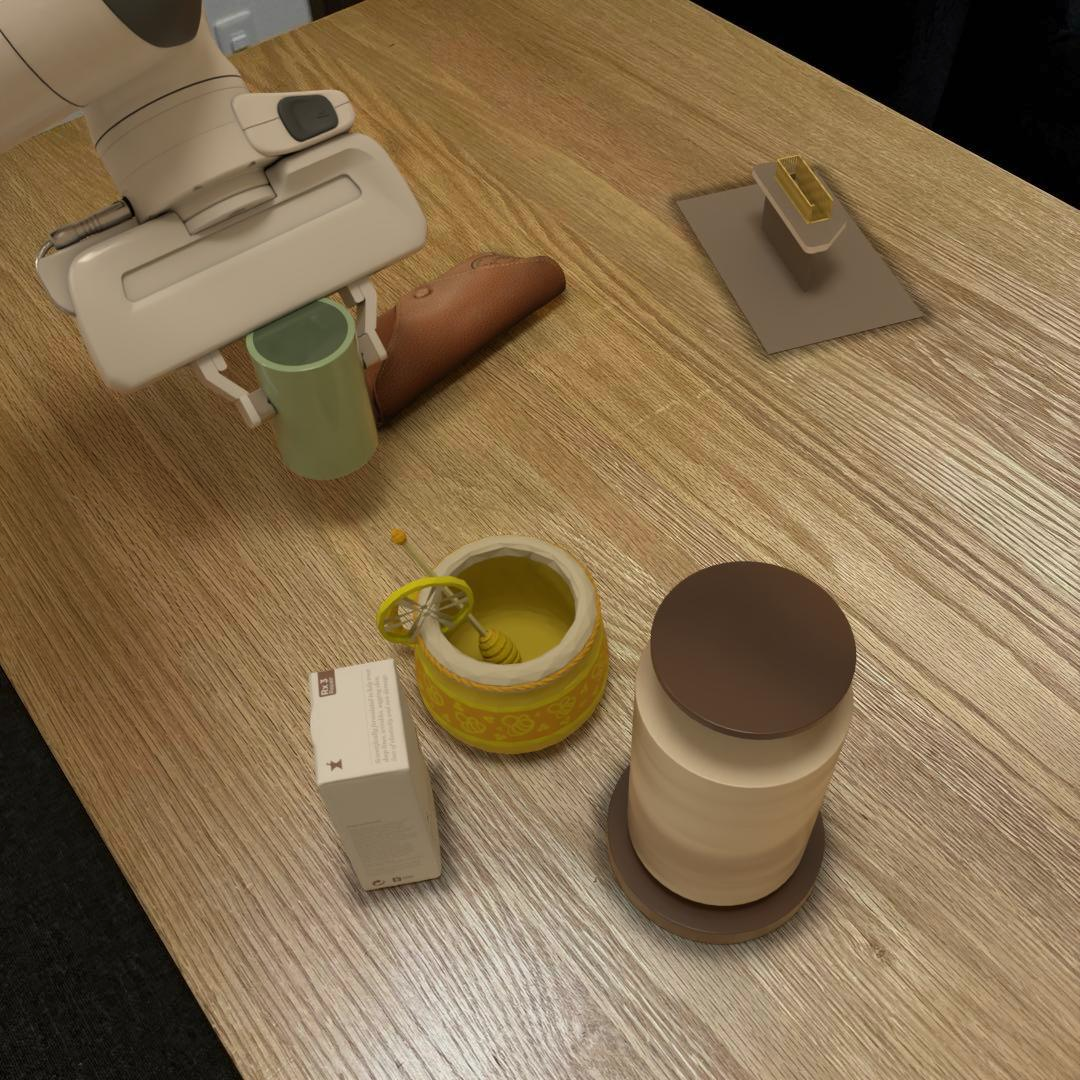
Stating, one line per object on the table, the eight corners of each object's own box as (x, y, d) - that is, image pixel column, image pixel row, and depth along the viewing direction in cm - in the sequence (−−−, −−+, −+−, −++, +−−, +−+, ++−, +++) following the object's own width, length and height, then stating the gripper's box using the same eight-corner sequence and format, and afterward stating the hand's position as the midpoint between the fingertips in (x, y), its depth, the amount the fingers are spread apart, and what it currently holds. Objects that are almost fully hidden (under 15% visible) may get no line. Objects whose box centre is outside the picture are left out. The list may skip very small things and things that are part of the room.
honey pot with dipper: (630, 624, 70) (637, 494, 60) (577, 789, 64) (575, 674, 54) (427, 574, 73) (402, 443, 63) (357, 728, 66) (318, 608, 57)
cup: (362, 486, 70) (337, 377, 63) (265, 473, 71) (229, 364, 64) (389, 412, 74) (368, 301, 66) (297, 401, 74) (266, 290, 67)
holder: (814, 963, 58) (893, 794, 43) (590, 922, 59) (590, 745, 44) (825, 760, 64) (898, 550, 49) (623, 728, 66) (634, 515, 51)
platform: (816, 170, 95) (829, 96, 90) (924, 316, 85) (946, 242, 79) (675, 201, 93) (680, 128, 88) (768, 354, 83) (780, 281, 78)
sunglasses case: (485, 244, 90) (514, 199, 84) (545, 315, 90) (578, 276, 84) (303, 371, 83) (320, 332, 77) (368, 449, 83) (390, 416, 77)
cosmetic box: (445, 878, 61) (418, 772, 51) (358, 895, 61) (314, 791, 51) (429, 770, 65) (402, 652, 55) (347, 785, 64) (305, 669, 55)
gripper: (17, 230, 59) (161, 477, 62) (369, 80, 66) (484, 308, 69) (17, 256, 64) (149, 481, 67) (341, 116, 72) (447, 325, 74)
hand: (320, 393), depth 68 cm, fingers closed on cup, 6 cm apart
